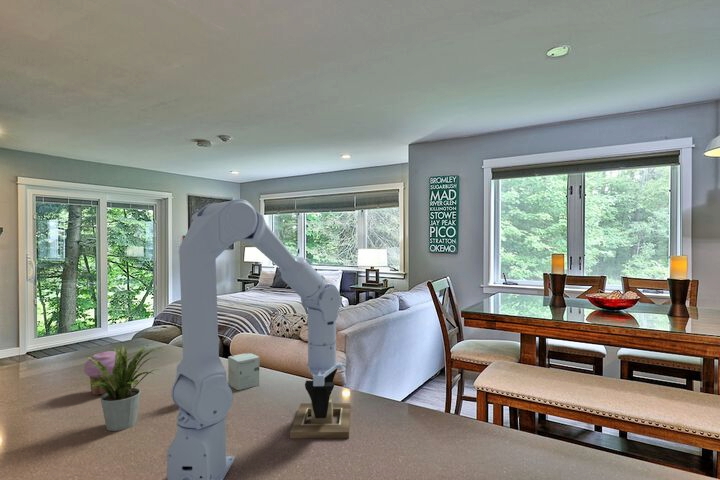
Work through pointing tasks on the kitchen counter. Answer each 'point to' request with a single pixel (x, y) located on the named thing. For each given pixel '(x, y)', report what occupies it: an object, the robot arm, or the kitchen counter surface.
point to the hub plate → (321, 430)
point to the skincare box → (243, 371)
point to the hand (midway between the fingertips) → (322, 409)
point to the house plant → (121, 390)
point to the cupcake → (91, 371)
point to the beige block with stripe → (328, 418)
